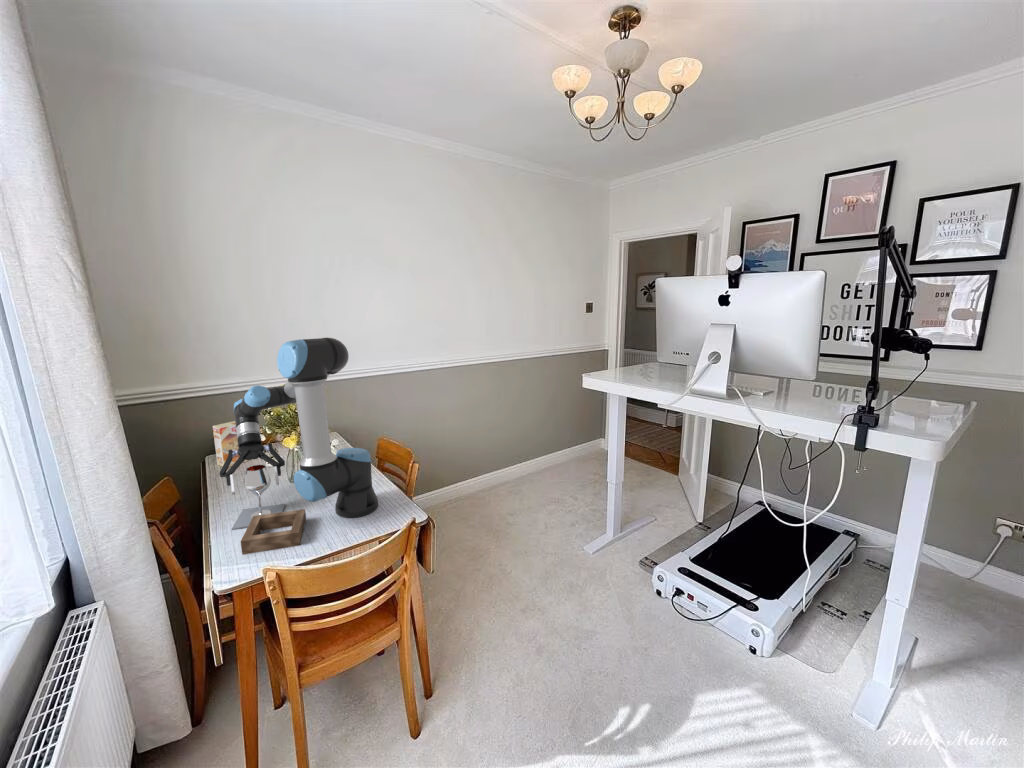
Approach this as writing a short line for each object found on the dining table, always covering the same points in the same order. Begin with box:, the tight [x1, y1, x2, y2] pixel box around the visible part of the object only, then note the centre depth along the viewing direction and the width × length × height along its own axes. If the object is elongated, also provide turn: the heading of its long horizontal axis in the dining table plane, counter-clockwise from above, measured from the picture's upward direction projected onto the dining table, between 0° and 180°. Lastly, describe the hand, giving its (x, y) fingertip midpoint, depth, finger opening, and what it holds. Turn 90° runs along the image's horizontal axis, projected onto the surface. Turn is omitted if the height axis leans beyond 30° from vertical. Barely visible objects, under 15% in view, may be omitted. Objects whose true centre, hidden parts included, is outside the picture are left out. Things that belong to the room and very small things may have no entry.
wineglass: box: [243, 464, 272, 518], centre depth 148 cm, size 8×8×18 cm
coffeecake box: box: [212, 420, 249, 468], centre depth 198 cm, size 15×7×20 cm, turn 149°
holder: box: [240, 508, 307, 555], centre depth 137 cm, size 16×16×4 cm
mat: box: [231, 503, 286, 531], centre depth 150 cm, size 14×14×1 cm
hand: (256, 488), depth 148 cm, fingers open, 13 cm apart
